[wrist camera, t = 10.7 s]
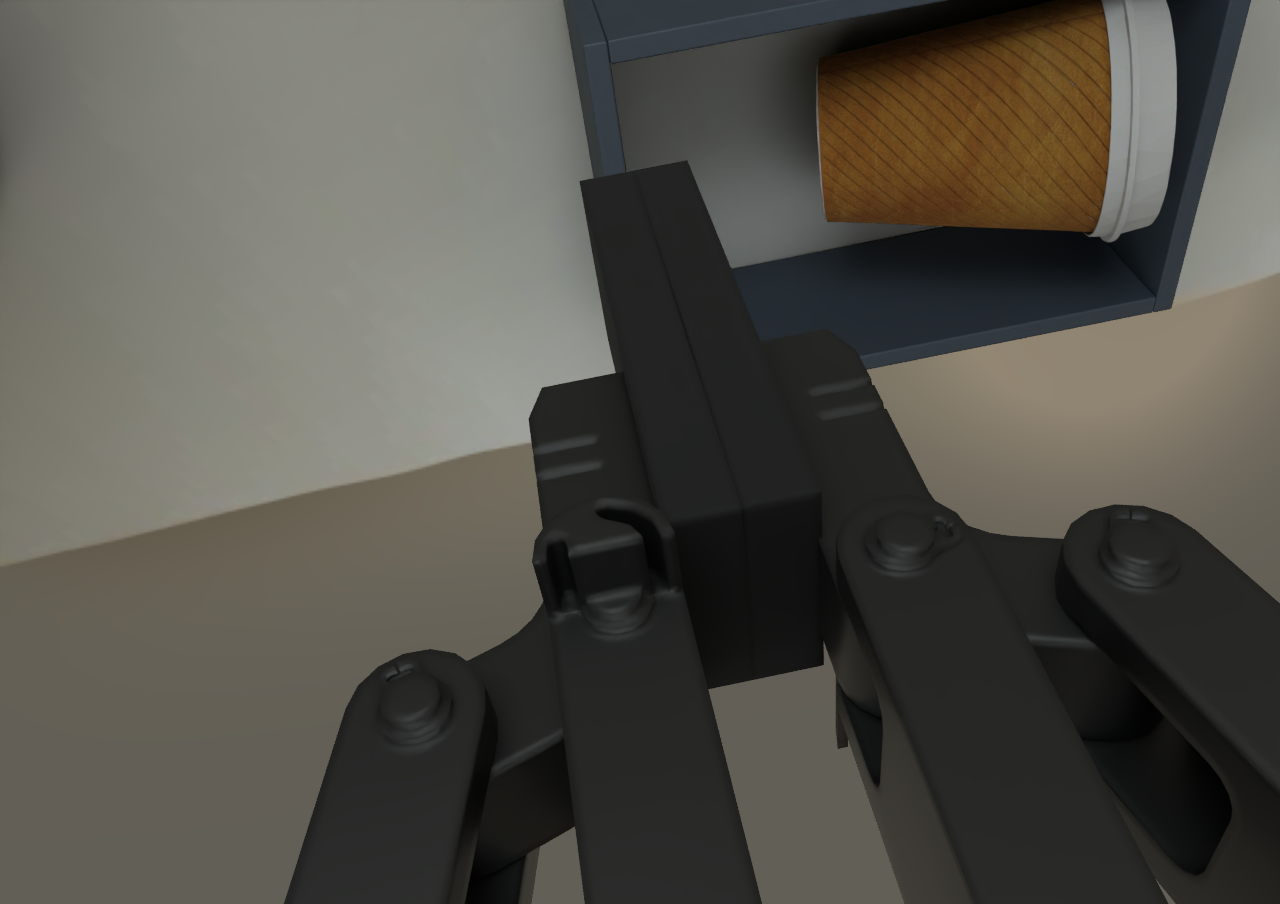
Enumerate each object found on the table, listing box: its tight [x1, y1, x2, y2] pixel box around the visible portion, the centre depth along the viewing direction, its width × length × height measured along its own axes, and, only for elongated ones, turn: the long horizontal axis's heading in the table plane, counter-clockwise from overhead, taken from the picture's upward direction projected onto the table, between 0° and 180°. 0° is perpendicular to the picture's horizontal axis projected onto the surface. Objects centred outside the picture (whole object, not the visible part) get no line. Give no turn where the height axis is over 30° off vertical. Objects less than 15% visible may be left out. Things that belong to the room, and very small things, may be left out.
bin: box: [563, 0, 1251, 370], centre depth 43 cm, size 23×16×8 cm
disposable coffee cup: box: [816, 0, 1177, 242], centre depth 42 cm, size 10×10×12 cm
